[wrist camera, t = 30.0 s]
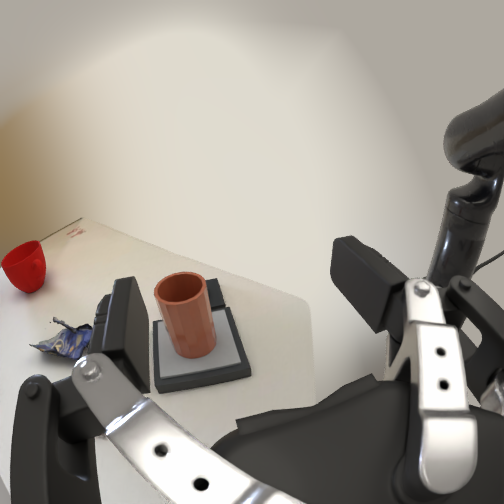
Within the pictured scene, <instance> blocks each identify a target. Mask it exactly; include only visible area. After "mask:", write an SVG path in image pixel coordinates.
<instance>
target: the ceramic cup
mask: <svg viewBox="0 0 504 504" xmlns="http://www.w3.org/2000/svg"><path fill="white" fill-rule="evenodd" d="M1 265H2V268H3V270H4V272H5V274H6V276H7V277H8V279H9V280H10V282H11V283H12V284H13V285H14V286H15V287H16V288H18V289H19V290H21V291H24V292H26V293H32V292H34V291H36V290H38V289H39V288H40V287H41V286H42V285H43V283H44V279H45V274H46V262H45V257H44V254H43V250H42V247H41V244H40V242H39V241H30V242H26V243H24V244H22V245H20V246H18V247H16V248H15V249H13V250H12V251H11V252H9V253H8V254H7V255H6V256H5V257H4V259H3V260H2V262H1Z"/></svg>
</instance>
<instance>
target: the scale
mask: <svg viewBox="0 0 504 504" xmlns="http://www.w3.org/2000/svg"><path fill="white" fill-rule="evenodd" d="M211 312H212V317H213V322H214V327H215V332H216V336H217V342H216V346H215V347H214V349H213V350H212V351H211V352H210V353H209V354H207V355H205V356H203V357H200V358H195V359H189V358H184V357H182V356H180V355H178V354H177V353H176V352H175V350H174V348H173V346H172V344H171V341H170V339H169V336H168V333H167V331H166V328H165V325H164V322H163V320H157V321H153V360H154V381H155V387H156V389H157V391H158V392H159V393H166V392H173V391H179V390H185V389H191V388H197V387H202V386H207V385H212V384H217V383H222V382H227V381H231V380H236V379H240V378H244V377H248V376H251V368H250V365H249V362H248V359H247V357H246V354H245V351H244V348H243V345H242V342H241V339H240V337H239V334H238V331H237V328H236V325H235V322H234V319H233V316H232V313H231V310H230V307H225V308H221V309H216V310H211Z"/></svg>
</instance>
